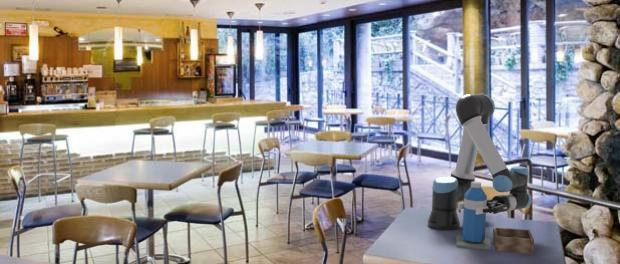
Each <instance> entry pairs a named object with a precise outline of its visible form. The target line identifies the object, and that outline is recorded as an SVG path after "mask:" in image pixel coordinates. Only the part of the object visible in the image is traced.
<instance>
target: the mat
mask: <svg viewBox="0 0 620 264" xmlns="http://www.w3.org/2000/svg"><path fill="white" fill-rule="evenodd" d="M456 248H466V249H476V250H489V251H492V245H491V240H490V238H489V237H485V240H484V241H482V242H471V241H466V240H464V239H463V238H462V235H456Z"/></svg>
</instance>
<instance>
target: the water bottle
mask: <svg viewBox="0 0 620 264" xmlns="http://www.w3.org/2000/svg"><path fill="white" fill-rule="evenodd" d="M487 200H488V196H487V194H486V192H485V190H483V188H482V182H480V181H475V182H471V187H470V188H469V189H468V191H467V192H466V193H465V194H464V201H463V202H464V209H463V213H462V214H463V216H462V218H463V219H462V233H461V234H462V235H461V236H462V238H463V239H464V240H466V241H471V242H482V241H484V240H485V238H486V221H487V220H486V218H487V213H484V214H478V215H476V208H479V207H486V204H487Z"/></svg>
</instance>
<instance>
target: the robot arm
mask: <svg viewBox="0 0 620 264" xmlns="http://www.w3.org/2000/svg"><path fill="white" fill-rule="evenodd" d="M495 110H496V105H495V101H494V100H493V99H492V97H490V95H487V94H483V93H476V94H474V93H473V94H464V95H462V96H461V97H460V98H459V99H458V100H457V102H456V105H455V112H456V116H457V119H458V121H459V123H460V124H461V127H462V128H463V131H462V137H461V142H460V146H459V150H458V156H457V158H456V159H457V161H456V164H455V165H456V166H455V168H454V170H452V171H451V174H450V176H440V177H437V178H435V179H434V180H433V182H432V187H431V188H432V195H431V202H432V203H431V211H430V214H429V217H428V219H427V226H428V227H429V226H430V228H431V227H432V228H431V229H435V230H439V231H455V230H458V229H460V228H461V227H460V226H461V222H460V219H459V215H458V212H457V210H464V194H465V193H466V192H467V191H468V189H469V188H470V187H471V182H476V181H475V180H476V176H475V175H474V169H475V165H476V161H477V156H478V153H479V155H480V157H481V158H482V160H483V162H484V164H485V166H486V167H487V169H488V171H489V173H490V175H491V177H492V179H493V180H492V188H493V190H495V191H496V192H498V193H504V194H499V195H495V196H493V197H492V198H490V199H487V204H486V207H479V208H476V215H478V214H484V213H486V214H494V215H496V214H499V213H504V212H506V213H508V212H510V211H514V210H523V209H527V208H528V207H530V206H531V205H532V201H533V200H532V196H531V194H530V193H529V192H528V184H529V183H528V180H529V169H528V168H527V167H525V166H517V165H516V166H511V168H510V170H509V169H508V166H507V165H506V163H505V161H504V159H503V158H502V156H501V154H500V152H499V150H498V148H497V147H496V145H495V144H494V141H493V139H492V138H491V136H490V134H489V132H488V131H487V129H486V126H487V125H488V123H489V118H490V117H491V116H493V114H494V113H495ZM507 192H508V193H507Z"/></svg>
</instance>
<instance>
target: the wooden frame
mask: <svg viewBox="0 0 620 264" xmlns="http://www.w3.org/2000/svg"><path fill="white" fill-rule="evenodd" d="M492 244H493V247H494V252H506V253H516V254H529V255H534V251H535V239H534V237H533V235H532V233H531V231H530V230H529V229H520V228H509V227H498V226H497V227H496V226H493V227H492Z"/></svg>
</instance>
